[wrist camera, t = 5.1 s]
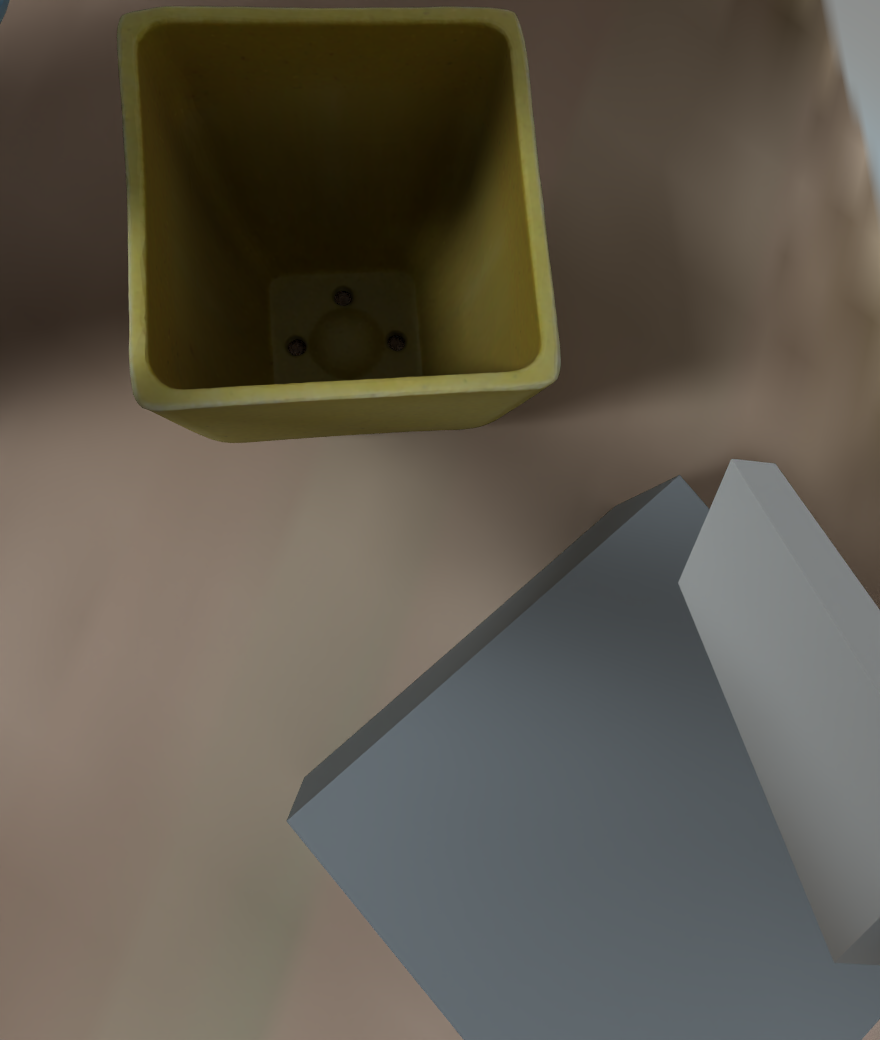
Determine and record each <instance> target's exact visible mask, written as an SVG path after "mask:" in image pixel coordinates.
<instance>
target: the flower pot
mask: <svg viewBox="0 0 880 1040" xmlns="http://www.w3.org/2000/svg"><path fill="white" fill-rule="evenodd" d="M117 51H118V70H119V81H120V94H121V103H122V122H123V140H124V154H125V168H126V184H127V217H128V285H129V363H130V376H131V384H132V390H133V395H134V397H135V399H136V401H137V403H138V404H139V405H140V406H141V407H142V408H144V409H148V410H150V411H152V412H154V413H156V414H158V415H160V416H162V417H164V418H166V419H168V420H170V421H172V422H174V423H176V424H178V425H180V426H183V427H185V428H187V429H189V430H191V431H193V432H195V433H198V434H200V435H202V436H205V437H207V438H210V439H213V440H216V441H220V442H228V443H244V442H259V441H272V440H285V439H299V438H313V437H327V436H341V435H357V434H375V433H392V432H410V431H432V430H459V429H469V428H476V427H480V426H483V425H486V424H489V423H491V422H493V421H495V420H497V419H498V418H500V417H502V416H503V415H505V414H506V413H508V412H510V411H511V410H513V409H514V408H516V407H518V406H519V405H521V404H522V403H524V402H525V401H527V400H528V399H530V398H531V397H533V396H535V395H536V394H538V393H539V392H541V391H542V390H543V389H545V388H546V387H548V386H550V385H551V384H553V383H554V382H555V381H556V380H557V379H558V376H559V373H560V367H561V356H560V341H559V333H558V326H557V315H556V308H555V299H554V289H553V281H552V272H551V265H550V258H549V249H548V241H547V233H546V224H545V214H544V204H543V196H542V187H541V181H540V174H539V164H538V155H537V146H536V136H535V126H534V118H533V110H532V97H531V86H530V76H529V67H528V59H527V51H526V46H525V41H524V37H523V33H522V29H521V26H520V23H519V20H518V18H517V16H516V14H515V13H514V12H512V11H509V10H505V9H496V8H487V7H486V8H484V7H422V8H415V7H409V8H265V7H214V6H188V7H183V6H165V7H156V8H151V9H145V10H140V11H134V12H130V13H127V14H124V15H122V16H121V18H120V20H119V23H118V28H117ZM339 291H347V292H349V293H350V294H351V296H352V301H351V302H350V303H349V304H348V305H346V306H341V305H339V304H337V303H336V302H335V294H336V293H338V292H339ZM393 335H399V336H401V337H402V338H403V339H404V341H405V345H404V348H403V349H401V350H399V351H394V350H392V349H391V348H389V346H388V339H389V338H390V337H391V336H393ZM296 339H298V340H301V341H303V342H304V343H305V345H306V350H305V352H304V353H303V354H301V355H298V356H295V355H292V354H291V353H290V352H289V350H288V345H289V343H290V342H291V341H293V340H296Z"/></svg>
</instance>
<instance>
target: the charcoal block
mask: <svg viewBox="0 0 880 1040" xmlns="http://www.w3.org/2000/svg"><path fill="white" fill-rule="evenodd" d="M709 510H710V509H709V508H708V507H707V506H706V505H705V504H704V503H703V501H702V500H701V499H700V498H699V497H698V496H697V494H696V493H695V492H694V491H693V490H692V489H691V488H690V486H689V485H688V484H687V483H686V482H685V481H684V479H683V478H682V477H681V476H680V475H679V476H677V477H674V478H672V479H670V480H668V481H666V482H664V483H662V484H660V485H658V486H656V487H654V488H652V489H650V490H648V491H646V492H643V493H641V494H639V495H637V496H635V497H633V498H631V499H629V500H627V501H625V502H623V503H621V504H619V505H617V506H615V507H614V508H613V509H612V510H610V511H609V512H608V513H607V514H606V515H605V516H604V517H602V518H601V519H600V520H599V521H598V522H597V523H596V524H594V525H593V526H592V527H591V528H590V529H589V530H588V531H586V532H585V533H584V534H583V535H582V536H581V537H580V538H578V539H577V540H576V541H575V542H574V543H573V544H572V545H570V546H569V547H568V548H567V549H566V550H565V551H563V552H562V553H561V554H560V555H559V556H558V557H557V558H555V559H554V560H553V561H552V562H551V563H550V564H549V565H547V566H546V567H545V568H544V569H543V570H542V571H541V572H539V573H538V574H537V575H536V576H535V577H534V578H533V579H531V580H530V581H529V582H528V583H527V584H526V585H525V586H523V587H522V588H521V589H520V590H519V591H518V592H516V593H515V594H514V595H513V596H512V597H511V598H510V599H508V600H507V601H506V602H505V603H504V604H503V605H502V606H500V607H499V608H498V609H497V610H496V611H495V612H494V613H492V614H491V615H490V616H489V617H488V618H487V619H486V620H484V621H483V622H482V623H481V624H480V625H479V626H478V627H476V628H475V629H474V630H473V631H472V632H471V633H470V634H468V635H467V636H466V637H465V638H464V639H463V640H461V641H460V642H459V643H458V644H457V645H456V646H455V647H453V648H452V649H451V650H450V651H449V652H448V653H447V654H445V655H444V656H443V657H442V658H441V659H440V660H439V661H437V662H436V663H435V664H434V665H433V666H432V667H431V668H429V669H428V670H427V671H426V672H425V673H424V674H423V675H421V676H420V677H419V678H418V679H417V680H416V681H414V682H413V683H412V684H411V685H410V686H409V687H408V688H406V689H405V690H404V691H403V692H402V693H401V694H400V695H398V696H397V697H396V698H395V699H394V700H393V701H392V702H390V703H389V704H388V705H387V706H386V707H385V708H384V709H382V710H381V711H380V712H379V713H378V714H377V715H376V716H374V717H373V718H372V719H371V720H370V721H369V722H368V723H366V724H365V725H364V726H363V727H362V728H361V729H359V730H358V731H357V732H356V733H355V734H354V735H353V736H351V737H350V738H349V739H348V740H347V741H346V742H345V743H343V744H342V745H341V746H340V747H339V748H338V749H337V750H335V751H334V752H333V753H332V754H331V755H330V756H329V757H327V758H326V759H325V760H324V761H323V762H322V763H321V764H319V765H318V766H317V767H316V768H315V769H314V770H313V771H311V772H310V773H309V774H308V775H307V776H306V777H304V780H303V782H302V784H301V787H300V789H299V792H298V794H297V797H296V799H295V802H294V804H293V807H292V809H291V811H290V814H289V816H288V819H287V822H288V824H289V825H290V826H291V827H292V828H293V830H294V831H295V832H296V833H297V835H298V836H299V837H300V838H301V840H302V841H303V842H304V843H305V845H306V846H307V847H308V848H309V849H310V851H311V852H312V853H313V854H314V856H315V857H316V858H317V859H318V861H319V862H320V863H321V864H322V865H323V867H324V868H325V869H326V870H327V872H328V873H329V874H330V875H331V877H332V878H333V879H334V880H335V881H336V883H337V884H338V885H339V886H340V888H341V889H342V890H343V891H344V893H345V894H346V895H347V896H348V898H349V899H350V900H351V901H352V902H353V904H354V905H355V906H356V907H357V909H358V910H359V911H360V912H361V914H362V915H363V916H364V917H365V918H366V920H367V921H368V922H369V923H370V925H371V926H372V927H373V928H374V930H375V931H376V932H377V933H378V935H379V936H380V937H381V938H382V939H383V941H384V942H385V943H386V944H387V946H388V947H389V948H390V949H391V951H392V952H393V953H394V954H395V955H396V957H397V958H398V959H399V960H400V962H401V963H402V964H403V965H404V967H405V968H406V969H407V970H408V972H409V973H410V974H411V975H412V976H413V978H414V979H415V980H416V981H417V983H418V984H419V985H420V986H421V988H422V989H423V990H424V991H425V992H426V994H427V995H428V996H429V997H430V999H431V1000H432V1001H433V1002H434V1004H435V1005H436V1006H437V1007H438V1008H439V1010H440V1011H441V1012H442V1013H443V1015H444V1016H445V1017H446V1018H447V1020H448V1021H449V1022H450V1023H451V1025H452V1026H453V1027H454V1028H455V1029H456V1031H457V1032H458V1033H459V1034H460V1036H461V1037H462V1038H463V1039H464V1040H861V1039H862V1038H863V1037H864V1036H865V1035H866V1034H867V1033H868V1032H869V1030H870V1029H871V1028H872V1027H873V1026H874V1025H875V1024H876V1022H877V1021H878V1020H879V1019H880V965H867V964H847V963H834V961H833V959H832V956H831V954H830V951H829V949H828V947H827V944H826V942H825V939H824V937H823V934H822V932H821V929H820V927H819V925H818V922H817V920H816V917H815V915H814V912H813V910H812V908H811V905H810V903H809V900H808V898H807V895H806V893H805V891H804V888H803V886H802V883H801V881H800V878H799V876H798V873H797V871H796V869H795V866H794V864H793V861H792V859H791V856H790V854H789V852H788V849H787V847H786V844H785V842H784V839H783V837H782V835H781V832H780V830H779V827H778V825H777V822H776V820H775V818H774V815H773V813H772V810H771V808H770V805H769V803H768V800H767V798H766V796H765V793H764V791H763V788H762V786H761V783H760V781H759V779H758V776H757V774H756V771H755V769H754V766H753V764H752V762H751V759H750V757H749V754H748V752H747V749H746V747H745V745H744V742H743V740H742V737H741V735H740V732H739V730H738V727H737V725H736V723H735V720H734V718H733V715H732V713H731V710H730V708H729V706H728V703H727V701H726V698H725V696H724V693H723V691H722V689H721V686H720V684H719V681H718V679H717V676H716V674H715V671H714V669H713V667H712V664H711V662H710V659H709V657H708V654H707V652H706V650H705V647H704V645H703V642H702V640H701V637H700V635H699V633H698V630H697V628H696V625H695V623H694V620H693V618H692V616H691V613H690V611H689V608H688V606H687V603H686V601H685V598H684V596H683V594H682V591H681V589H680V586H679V584H678V582H679V580H680V577H681V575H682V573H683V570H684V568H685V566H686V563H687V561H688V559H689V556H690V554H691V552H692V549H693V547H694V545H695V542H696V540H697V538H698V535H699V533H700V531H701V528H702V526H703V524H704V521H705V519H706V517H707V514H708V512H709Z"/></svg>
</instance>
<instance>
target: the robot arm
mask: <svg viewBox="0 0 880 1040" xmlns="http://www.w3.org/2000/svg"><path fill="white" fill-rule="evenodd" d="M8 4H9V0H0V23H1V21H2V19H3V17H4V15H5V13H6V10H7V7H8ZM678 584H679V586H680V589H681V591H682V594H683V596H684V598H685V601H686V603H687V606H688V608H689V611H690V613H691V616H692V618H693V620H694V623H695V625H696V628H697V630H698V633H699V635H700V637H701V640H702V642H703V645H704V647H705V650H706V652H707V654H708V657H709V659H710V662H711V664H712V667H713V669H714V671H715V674H716V676H717V679H718V681H719V684H720V686H721V689H722V691H723V693H724V696H725V698H726V701H727V703H728V706H729V708H730V710H731V713H732V715H733V718H734V720H735V723H736V725H737V727H738V730H739V732H740V735H741V737H742V740H743V742H744V745H745V747H746V749H747V752H748V754H749V757H750V759H751V762H752V764H753V766H754V769H755V771H756V774H757V776H758V779H759V781H760V783H761V786H762V788H763V791H764V793H765V796H766V798H767V800H768V803H769V805H770V808H771V810H772V813H773V815H774V818H775V820H776V822H777V825H778V827H779V830H780V832H781V835H782V837H783V839H784V842H785V844H786V847H787V849H788V852H789V854H790V856H791V859H792V861H793V864H794V866H795V869H796V871H797V873H798V876H799V878H800V881H801V883H802V886H803V888H804V891H805V893H806V895H807V898H808V900H809V903H810V905H811V908H812V910H813V912H814V915H815V917H816V920H817V922H818V925H819V927H820V929H821V932H822V934H823V937H824V939H825V942H826V944H827V947H828V949H829V951H830V954H831V956H832V959H833V961H834V963H847V964H867V965H880V610H879V608H878V607H877V605H876V604H875V603H874V601H873V600H872V598H871V597H870V596H869V594H868V593H867V591H866V590H865V589H864V587H863V586H862V584H861V583H860V582H859V580H858V579H857V577H856V576H855V575H854V573H853V572H852V570H851V569H850V568H849V566H848V565H847V563H846V562H845V561H844V559H843V558H842V556H841V555H840V554H839V552H838V551H837V549H836V548H835V547H834V545H833V544H832V542H831V541H830V540H829V538H828V537H827V535H826V534H825V533H824V531H823V530H822V528H821V527H820V526H819V524H818V523H817V521H816V520H815V519H814V517H813V516H812V514H811V513H810V512H809V510H808V509H807V507H806V506H805V505H804V503H803V502H802V500H801V499H800V498H799V496H798V495H797V493H796V492H795V491H794V489H793V488H792V486H791V485H790V484H789V482H788V481H787V479H786V478H785V477H784V475H783V474H782V472H781V471H780V470H779V468H778V467H777V465H776V464H775V463H766V462H757V461H748V460H739V459H731V461H730V463H729V465H728V468H727V470H726V472H725V475H724V477H723V479H722V482H721V484H720V486H719V489H718V491H717V493H716V496H715V498H714V500H713V503H712V505H711V507H710V510H709V512H708V514H707V517H706V519H705V521H704V524H703V526H702V528H701V531H700V533H699V535H698V538H697V540H696V542H695V545H694V547H693V549H692V552H691V554H690V556H689V559H688V561H687V563H686V566H685V568H684V570H683V573H682V575H681V577H680V580H679V582H678Z"/></svg>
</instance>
